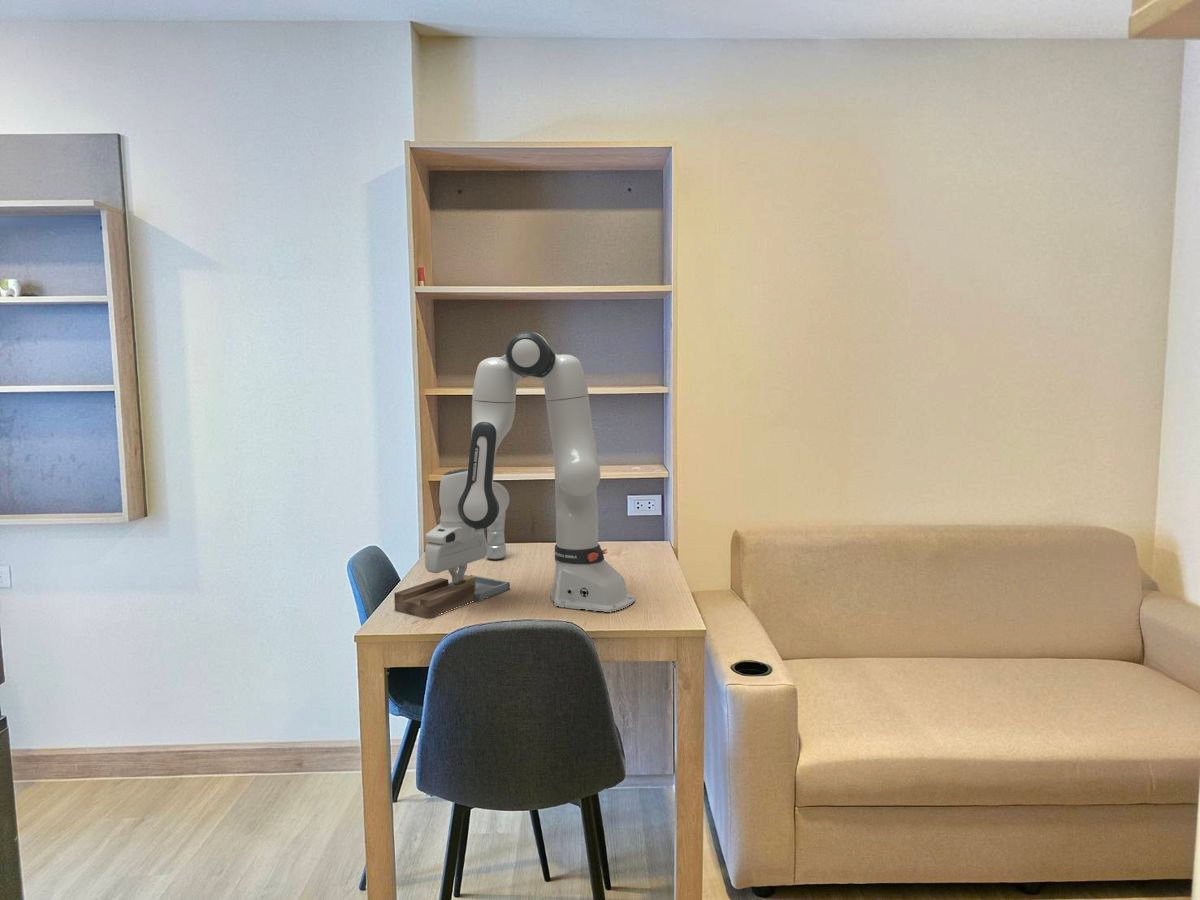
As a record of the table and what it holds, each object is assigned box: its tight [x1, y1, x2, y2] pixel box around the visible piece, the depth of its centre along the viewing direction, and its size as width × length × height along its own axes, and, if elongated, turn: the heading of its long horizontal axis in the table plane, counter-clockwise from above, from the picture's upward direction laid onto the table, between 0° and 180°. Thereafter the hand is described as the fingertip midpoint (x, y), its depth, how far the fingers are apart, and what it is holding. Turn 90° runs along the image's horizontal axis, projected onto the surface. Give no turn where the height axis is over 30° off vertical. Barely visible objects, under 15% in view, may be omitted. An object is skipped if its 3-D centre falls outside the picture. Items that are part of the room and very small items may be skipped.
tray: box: [448, 574, 511, 602], centre depth 202 cm, size 14×13×2 cm
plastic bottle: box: [486, 511, 507, 560], centre depth 236 cm, size 6×7×20 cm
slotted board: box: [393, 577, 475, 619], centre depth 189 cm, size 12×16×4 cm
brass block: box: [454, 574, 476, 592], centre depth 200 cm, size 4×4×4 cm
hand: (458, 581), depth 196 cm, fingers closed
